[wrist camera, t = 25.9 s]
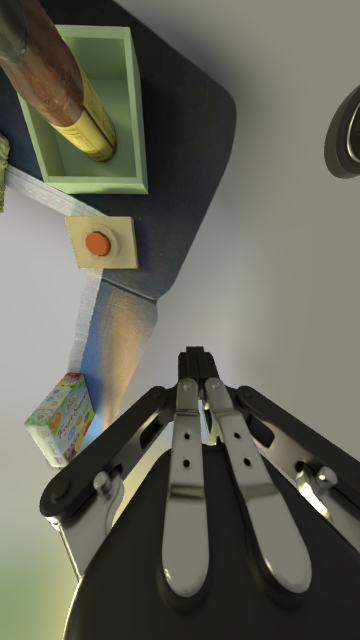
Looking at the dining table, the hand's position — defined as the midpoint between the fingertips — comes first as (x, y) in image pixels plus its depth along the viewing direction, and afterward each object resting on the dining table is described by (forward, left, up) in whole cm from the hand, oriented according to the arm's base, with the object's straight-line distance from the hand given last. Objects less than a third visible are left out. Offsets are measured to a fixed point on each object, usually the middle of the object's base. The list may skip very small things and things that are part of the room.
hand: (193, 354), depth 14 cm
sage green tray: (+14, -24, -25) cm, 37 cm away
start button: (+16, -9, -22) cm, 28 cm away
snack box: (+34, +37, -25) cm, 56 cm away
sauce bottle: (+14, -24, -24) cm, 37 cm away
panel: (+16, -9, -25) cm, 31 cm away
